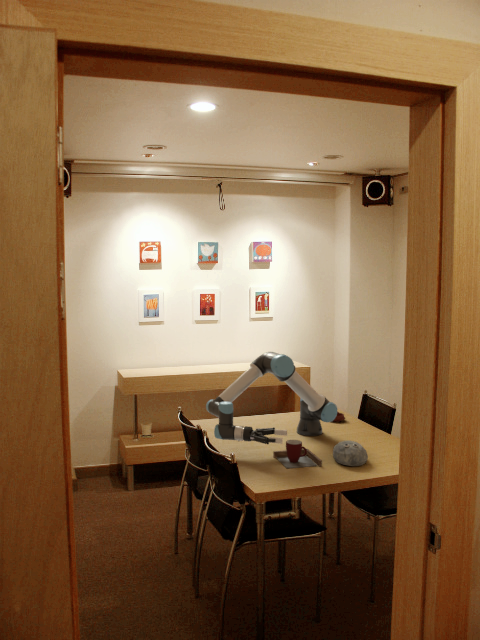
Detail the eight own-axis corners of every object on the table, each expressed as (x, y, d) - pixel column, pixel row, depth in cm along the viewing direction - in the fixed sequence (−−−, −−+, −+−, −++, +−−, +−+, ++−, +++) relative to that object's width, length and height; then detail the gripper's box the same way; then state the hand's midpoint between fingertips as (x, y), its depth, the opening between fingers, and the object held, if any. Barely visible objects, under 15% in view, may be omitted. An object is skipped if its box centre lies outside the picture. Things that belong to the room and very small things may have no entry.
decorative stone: (366, 455, 288) (367, 437, 287) (369, 469, 268) (369, 449, 267) (332, 453, 291) (333, 435, 290) (332, 467, 270) (333, 447, 270)
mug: (303, 458, 282) (303, 438, 281) (308, 463, 274) (309, 443, 273) (283, 459, 280) (283, 440, 279) (288, 464, 272) (288, 444, 271)
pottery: (327, 423, 351) (328, 416, 350) (324, 415, 371) (324, 408, 370) (346, 423, 350) (346, 416, 350) (342, 415, 370) (342, 409, 370)
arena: (307, 454, 289) (307, 448, 289) (321, 466, 271) (321, 460, 271) (273, 456, 284) (273, 451, 284) (285, 469, 266) (285, 463, 266)
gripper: (249, 433, 297) (288, 436, 292) (237, 448, 273) (280, 451, 268) (249, 420, 296) (288, 422, 291) (237, 433, 272) (280, 436, 267)
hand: (284, 436), depth 279 cm, fingers open, 13 cm apart
